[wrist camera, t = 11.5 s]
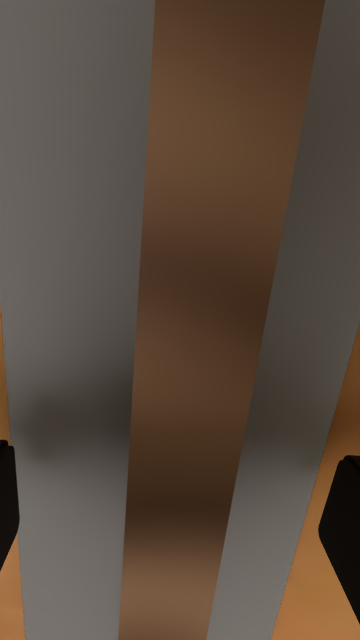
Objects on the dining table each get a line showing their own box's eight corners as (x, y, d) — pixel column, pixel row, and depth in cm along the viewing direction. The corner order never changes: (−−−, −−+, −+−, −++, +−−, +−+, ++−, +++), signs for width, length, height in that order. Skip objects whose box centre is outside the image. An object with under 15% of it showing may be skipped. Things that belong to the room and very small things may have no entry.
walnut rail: (170, -161, 7) (174, -339, 5) (310, -134, 7) (379, -291, 5) (117, 697, 16) (110, 777, 14) (178, 696, 17) (181, 774, 14)
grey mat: (-31, -310, 7) (-49, -359, 6) (488, -198, 7) (515, -230, 7) (36, 706, 17) (31, 723, 17) (245, 702, 18) (248, 718, 18)
